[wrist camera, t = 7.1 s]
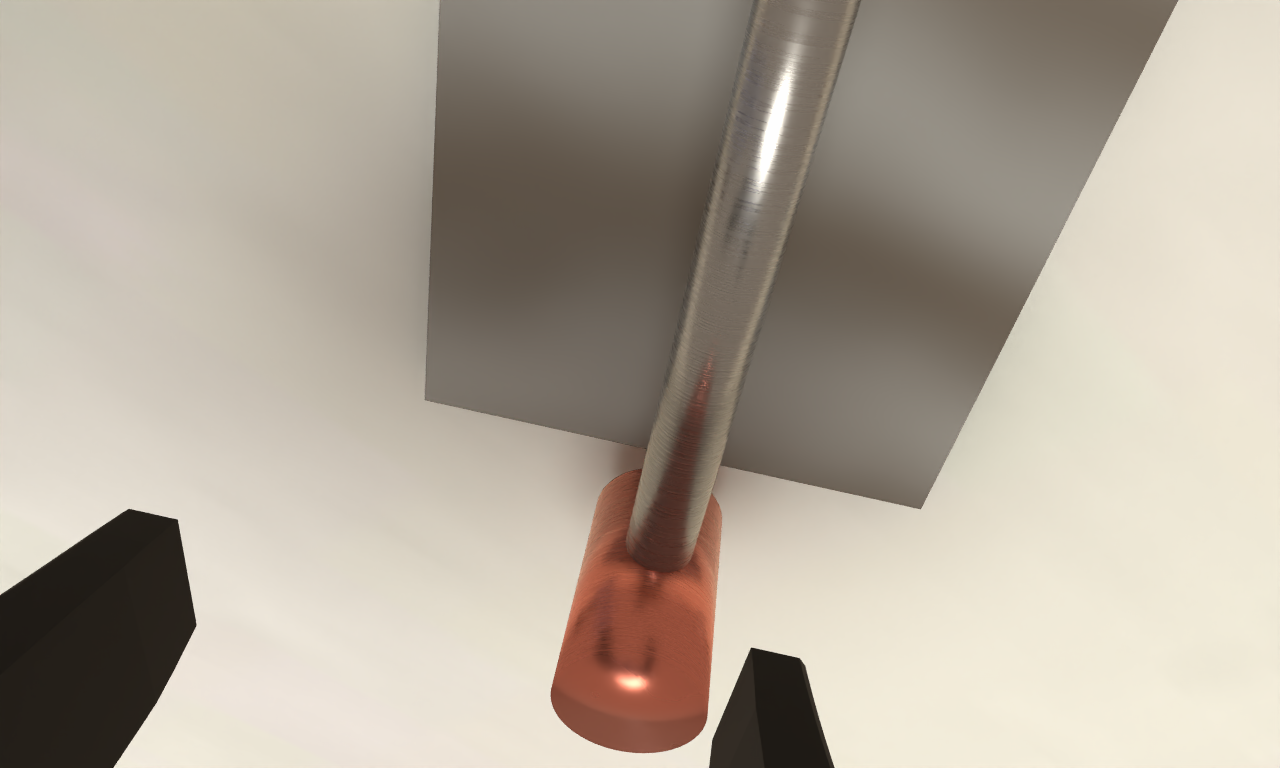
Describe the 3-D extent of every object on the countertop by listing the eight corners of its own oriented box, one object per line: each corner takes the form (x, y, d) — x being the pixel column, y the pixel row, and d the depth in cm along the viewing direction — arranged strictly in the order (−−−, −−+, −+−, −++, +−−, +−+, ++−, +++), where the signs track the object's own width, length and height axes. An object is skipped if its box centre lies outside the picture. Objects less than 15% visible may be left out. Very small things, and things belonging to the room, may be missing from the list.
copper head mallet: (706, 572, 22) (689, 766, 18) (588, 546, 22) (542, 734, 18) (1011, -368, 11) (1151, -448, 7) (783, -419, 11) (785, -528, 7)
